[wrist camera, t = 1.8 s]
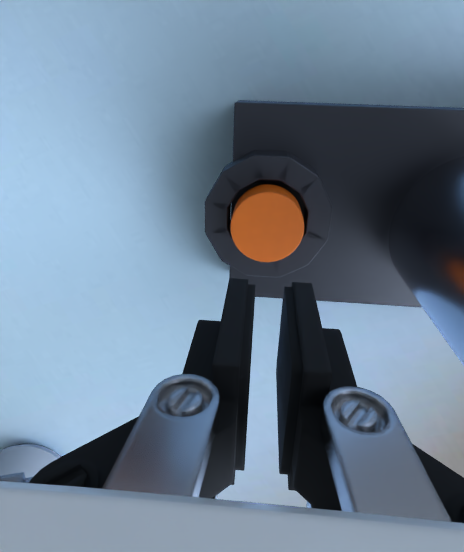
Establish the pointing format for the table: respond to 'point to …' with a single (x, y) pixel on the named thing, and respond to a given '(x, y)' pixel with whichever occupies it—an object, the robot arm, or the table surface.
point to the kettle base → (332, 190)
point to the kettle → (434, 248)
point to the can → (25, 459)
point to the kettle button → (267, 223)
